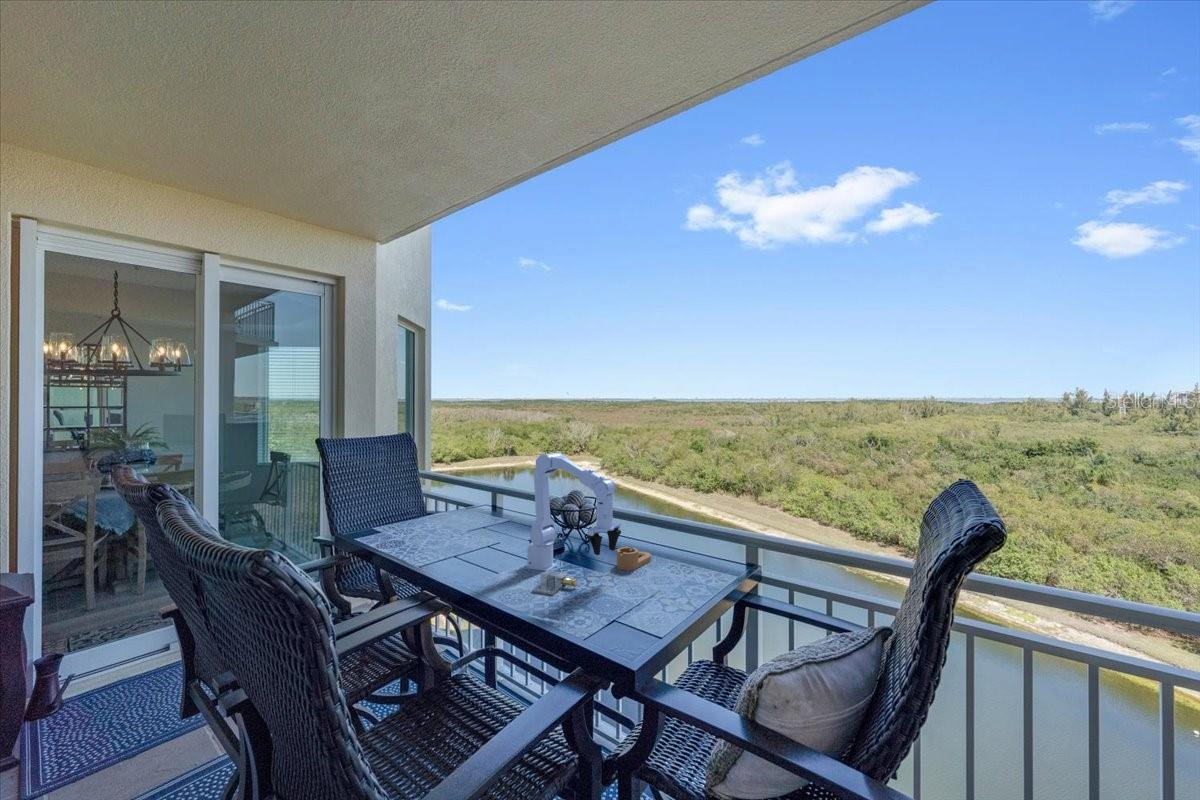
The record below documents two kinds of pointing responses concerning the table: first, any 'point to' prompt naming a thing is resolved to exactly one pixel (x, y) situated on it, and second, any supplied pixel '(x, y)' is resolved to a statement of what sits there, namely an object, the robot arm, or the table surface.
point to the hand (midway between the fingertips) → (604, 552)
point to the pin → (569, 582)
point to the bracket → (631, 558)
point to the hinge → (551, 582)
